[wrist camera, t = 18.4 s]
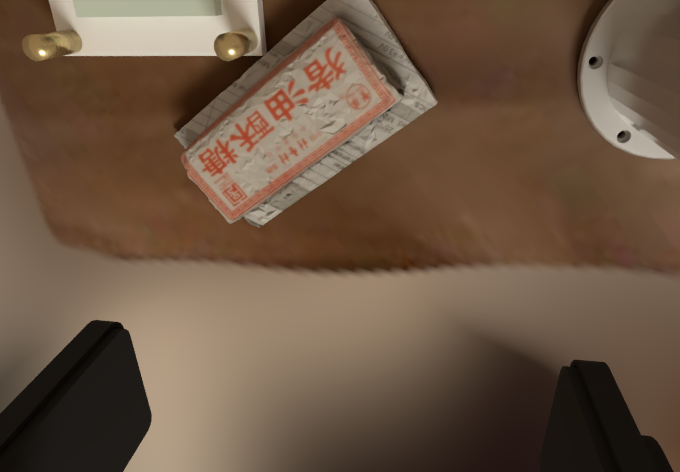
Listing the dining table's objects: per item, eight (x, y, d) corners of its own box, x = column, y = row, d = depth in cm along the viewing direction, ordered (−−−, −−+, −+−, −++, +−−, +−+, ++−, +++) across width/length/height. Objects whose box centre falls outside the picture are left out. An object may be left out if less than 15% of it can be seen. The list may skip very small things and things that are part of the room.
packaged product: (241, 251, 38) (149, 149, 35) (260, 224, 42) (179, 131, 40) (441, 114, 31) (345, -26, 28) (439, 98, 35) (356, -26, 33)
